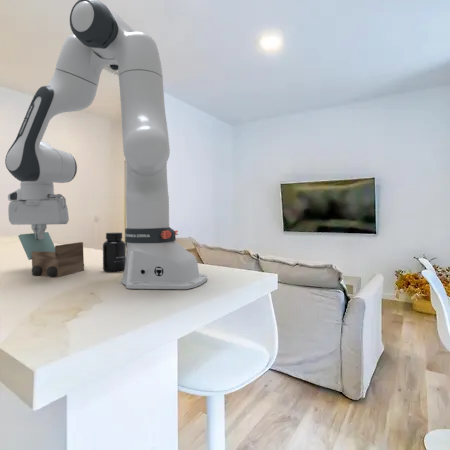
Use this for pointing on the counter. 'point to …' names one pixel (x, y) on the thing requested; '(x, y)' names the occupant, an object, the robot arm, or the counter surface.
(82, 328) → the counter surface
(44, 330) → the counter surface
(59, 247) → the cart
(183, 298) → the counter surface
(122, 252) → the supplement bottle
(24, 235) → the panel
